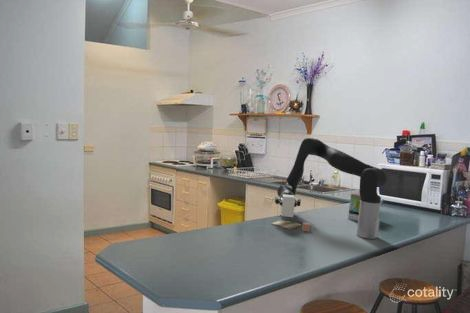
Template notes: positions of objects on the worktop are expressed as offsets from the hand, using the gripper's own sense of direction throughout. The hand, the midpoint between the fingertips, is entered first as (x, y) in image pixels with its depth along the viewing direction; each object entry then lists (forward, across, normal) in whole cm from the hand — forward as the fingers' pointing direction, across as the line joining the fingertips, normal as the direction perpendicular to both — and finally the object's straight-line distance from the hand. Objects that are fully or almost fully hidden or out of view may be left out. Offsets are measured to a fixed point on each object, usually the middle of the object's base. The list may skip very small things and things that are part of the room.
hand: (288, 204), depth 203 cm
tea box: (-33, +44, +11) cm, 56 cm away
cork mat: (-2, 0, +11) cm, 11 cm away
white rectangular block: (-2, 0, +6) cm, 6 cm away
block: (+5, +10, +11) cm, 15 cm away
